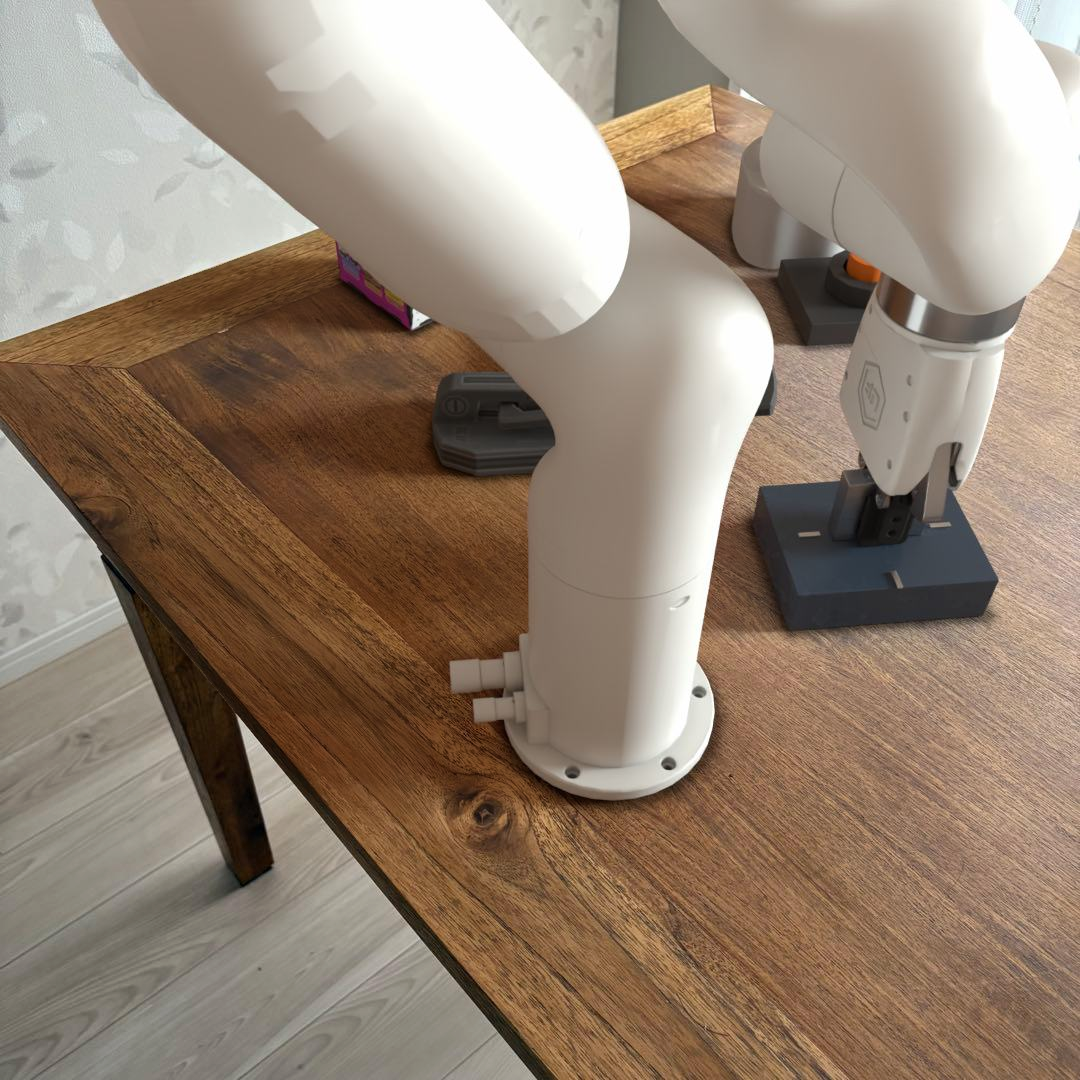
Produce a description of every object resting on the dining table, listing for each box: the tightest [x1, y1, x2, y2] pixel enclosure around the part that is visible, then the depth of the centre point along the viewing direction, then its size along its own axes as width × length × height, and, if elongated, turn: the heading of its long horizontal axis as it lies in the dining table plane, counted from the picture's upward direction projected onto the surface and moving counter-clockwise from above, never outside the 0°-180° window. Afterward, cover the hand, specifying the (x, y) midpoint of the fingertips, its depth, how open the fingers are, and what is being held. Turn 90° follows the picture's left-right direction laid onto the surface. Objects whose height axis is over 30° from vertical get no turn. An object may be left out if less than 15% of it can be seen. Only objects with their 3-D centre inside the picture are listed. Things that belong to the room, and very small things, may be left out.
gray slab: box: [828, 468, 927, 541], centre depth 71 cm, size 6×1×5 cm, turn 96°
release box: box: [776, 250, 878, 347], centre depth 95 cm, size 12×10×4 cm
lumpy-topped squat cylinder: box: [731, 135, 845, 270], centre depth 102 cm, size 10×13×9 cm
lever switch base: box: [751, 480, 1000, 632], centre depth 74 cm, size 13×10×4 cm
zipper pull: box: [431, 365, 778, 477], centre depth 82 cm, size 9×7×25 cm
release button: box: [846, 252, 881, 283], centre depth 94 cm, size 4×4×2 cm
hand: (875, 528), depth 73 cm, fingers closed
